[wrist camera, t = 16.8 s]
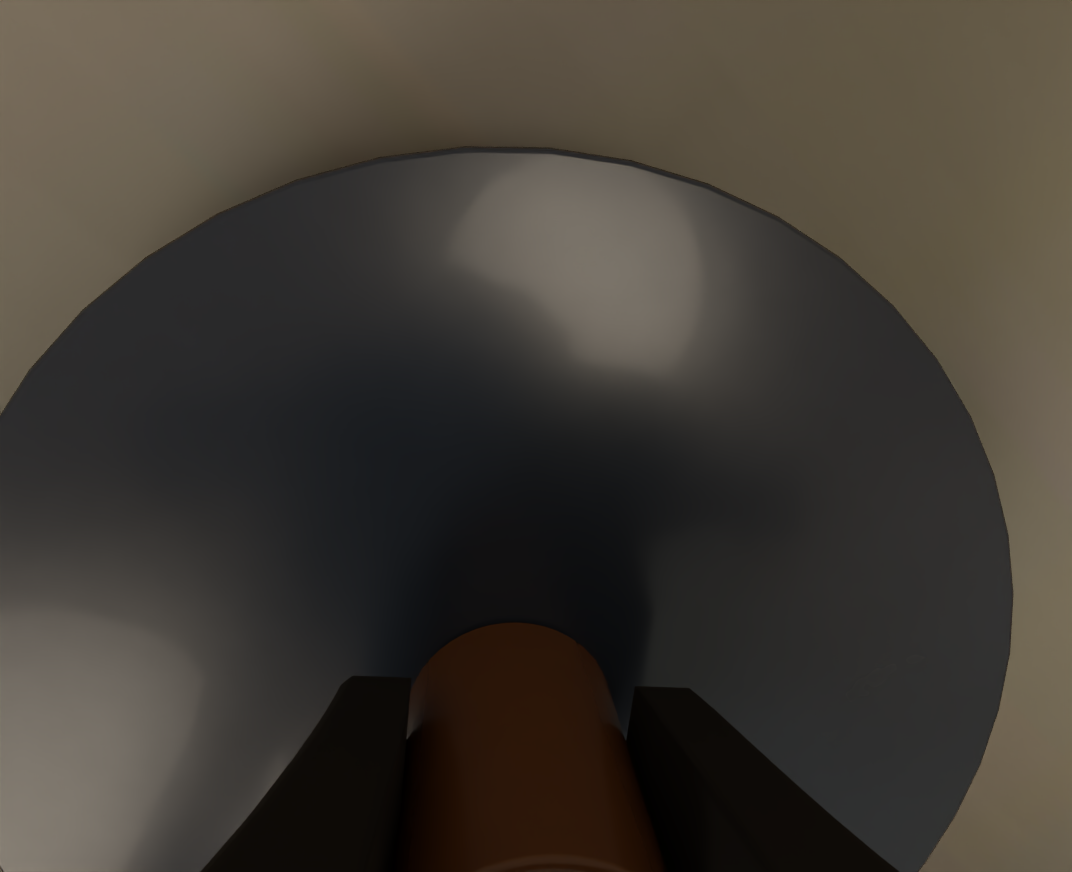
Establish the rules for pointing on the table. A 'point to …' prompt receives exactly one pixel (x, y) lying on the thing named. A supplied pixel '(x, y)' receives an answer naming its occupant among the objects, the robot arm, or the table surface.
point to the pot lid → (488, 520)
